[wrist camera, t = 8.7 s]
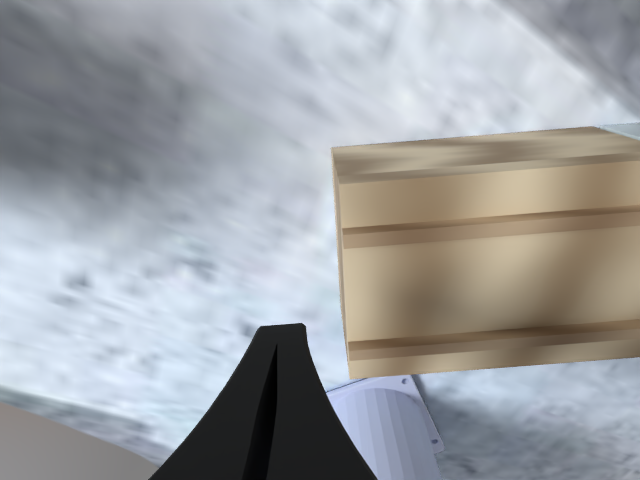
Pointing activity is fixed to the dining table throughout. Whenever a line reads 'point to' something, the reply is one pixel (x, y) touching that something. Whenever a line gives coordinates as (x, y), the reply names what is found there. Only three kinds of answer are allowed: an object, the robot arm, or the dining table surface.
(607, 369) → the dining table surface
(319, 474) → the robot arm
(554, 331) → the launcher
